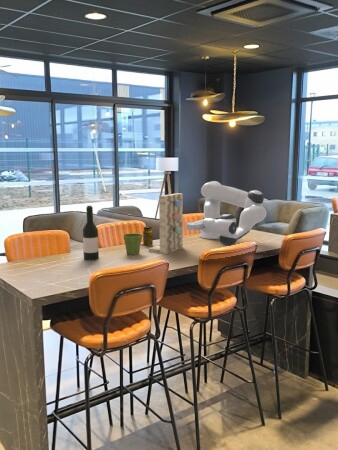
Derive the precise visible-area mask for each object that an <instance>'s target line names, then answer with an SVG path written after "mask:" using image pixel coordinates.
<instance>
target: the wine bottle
mask: <svg viewBox="0 0 338 450" xmlns="http://www.w3.org/2000/svg"><path fill="white" fill-rule="evenodd" d="M85 209H86V223H85V225H84V227H83V228H82V243H83V244H82V245H83V246H82V248H83V259H84V260H85V261H95V260H96V261H97V260H98V259H100V258H99V230H98V228H97V226H96V224H95V223H94V212H93V211H94V210H93V209H94V208H93V205H86V208H85Z"/></svg>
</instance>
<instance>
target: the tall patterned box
mask: <svg viewBox="0 0 338 450" xmlns="http://www.w3.org/2000/svg"><path fill="white" fill-rule="evenodd" d="M183 196H184V193H179V192H177V193H170V194H164V195H159V196H158V197H159V201H158V202H159V203H158V205H159V206H158V208H159V244H158V245H154V246H151V247H149V248H148V253H157V254H164V255H167V254H169V253H172V252H175V251H177V250H180V249H183V248H184V247H183V245H184V244H183V243H184V242H183V241H184V240H183V238H184V237H183V236H184V227H183V226H184V225H183V223H184V221H183V220H184V219H183V217H184V216H183V215H184V214H183V213H184V211H183V209H184V208H183V207H184V205H183V203H184V202H183V199H184V197H183ZM176 200H181V202H182V204H181V207H176V206H175V205H173V202H175V201H176ZM174 213H179V214H180V219H179V220H174V219H173V215H174ZM177 226H179V227H181V228H182V231H181V233H180V234H176V233H175V231H173V228H176V227H177Z"/></svg>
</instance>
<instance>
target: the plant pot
mask: <svg viewBox="0 0 338 450" xmlns="http://www.w3.org/2000/svg"><path fill="white" fill-rule="evenodd" d="M122 237H123V240H124V245H125V250H126V254H127V255H130V256H134V255H139V254H140V251H141V250H140V249H141V246H140V244H142V239H143V233H135V232H134V233H125V234H122Z"/></svg>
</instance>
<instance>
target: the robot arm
mask: <svg viewBox="0 0 338 450" xmlns="http://www.w3.org/2000/svg"><path fill="white" fill-rule="evenodd" d="M200 194H201V195H202V196H203V197H204V198H205V201H204V203H203V217H202V219H199V220H196V221H191V222H190V221H188V222H185V226H186V227H185V230H187V231H200V234H198V237H199V238H202V239H207V240H208V239H209V240H217V239H218V241H219V243H220V244H221V245H222V246H225V247H229V246H233V245H234V244H236V243H237V241H239V240H240V239H242V238H243V237H244V236H246V235H247V234H248V233H250V231H251V230H252V229H253V227H254V225H256V224H258V223H260V222H262V221H263V220H265V218H266V217H267V210H266V208H265V207H264V206H263V203H264V199H265V196H264V194H263V192H261V191H260V190H257V189H254V190H252V189H251V190H250V191H249V192H248V191H246V190H243V189H239V188H237V187H233V186H229V185H228V186H227V185H223V184H222V183H220V182H219V181H216V180H212V181H208V182H206V183H204V184H203V185H202V186H201V189H200ZM221 202H222V203H226V204H231V205H233V206H237V207H240V208H243V210H242V211H241V213H240V214H239V215H240V216H239V223H238V224H237V219H236V217H235V215H234V214H232V213H222V214H221V213H220V212H221Z"/></svg>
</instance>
